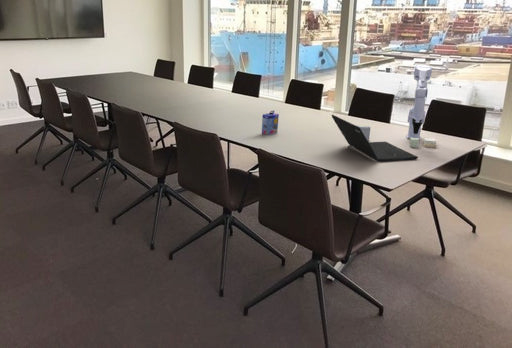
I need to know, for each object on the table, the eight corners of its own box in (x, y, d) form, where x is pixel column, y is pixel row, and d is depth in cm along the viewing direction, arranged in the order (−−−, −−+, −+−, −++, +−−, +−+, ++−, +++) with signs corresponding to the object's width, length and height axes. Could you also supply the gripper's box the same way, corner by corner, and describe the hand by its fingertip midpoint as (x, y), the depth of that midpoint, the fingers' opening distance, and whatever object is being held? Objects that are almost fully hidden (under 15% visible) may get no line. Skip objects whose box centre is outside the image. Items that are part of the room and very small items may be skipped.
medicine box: (367, 139, 290) (368, 125, 288) (369, 141, 286) (370, 127, 283) (354, 139, 290) (355, 125, 287) (356, 141, 286) (357, 127, 283)
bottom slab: (423, 144, 285) (423, 141, 285) (435, 146, 284) (435, 142, 283) (423, 147, 279) (423, 144, 278) (435, 149, 277) (436, 145, 277)
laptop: (418, 160, 254) (423, 124, 247) (354, 164, 243) (358, 127, 237) (385, 143, 284) (389, 111, 277) (327, 146, 273) (330, 113, 267)
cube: (409, 144, 282) (410, 137, 280) (417, 145, 281) (418, 138, 279) (409, 146, 278) (410, 139, 276) (417, 147, 276) (418, 140, 275)
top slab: (423, 141, 284) (423, 137, 283) (433, 142, 283) (434, 138, 282) (424, 144, 278) (425, 140, 278) (435, 144, 278) (436, 141, 277)
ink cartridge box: (267, 135, 292) (268, 112, 287) (261, 133, 295) (261, 110, 291) (278, 132, 299) (279, 110, 294) (271, 131, 302) (272, 108, 298)
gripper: (411, 106, 280) (408, 128, 284) (411, 110, 266) (408, 134, 271) (424, 107, 278) (420, 130, 282) (424, 111, 265) (421, 135, 269)
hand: (415, 132), depth 276 cm, fingers open, 7 cm apart
